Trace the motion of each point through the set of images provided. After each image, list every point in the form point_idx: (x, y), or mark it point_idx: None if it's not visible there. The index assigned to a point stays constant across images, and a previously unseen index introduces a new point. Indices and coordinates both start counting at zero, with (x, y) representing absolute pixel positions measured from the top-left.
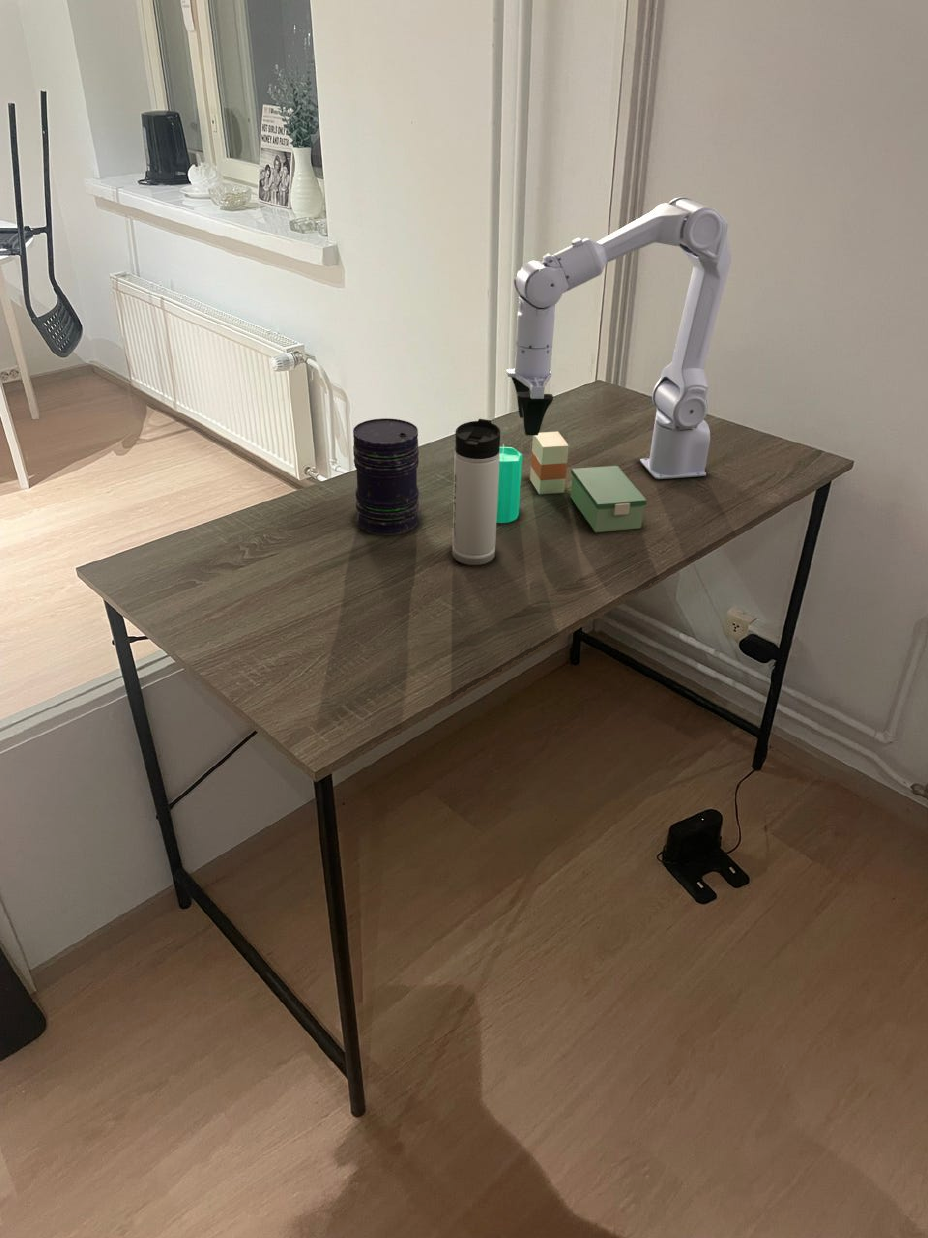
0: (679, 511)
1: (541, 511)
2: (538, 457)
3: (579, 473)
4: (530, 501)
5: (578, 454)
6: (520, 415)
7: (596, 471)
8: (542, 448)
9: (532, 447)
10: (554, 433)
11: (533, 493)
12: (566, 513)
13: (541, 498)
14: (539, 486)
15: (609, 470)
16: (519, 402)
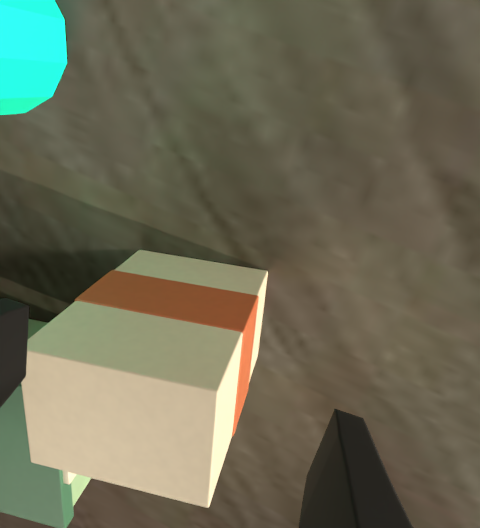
0: (4, 517)
1: (19, 201)
2: (120, 315)
3: (12, 398)
4: (93, 196)
5: (416, 511)
6: (331, 421)
7: (25, 454)
8: (29, 342)
9: (227, 339)
10: (186, 481)
11: (152, 233)
12: (3, 271)
13: (110, 243)
14: (130, 260)
15: (29, 491)
16: (345, 510)
